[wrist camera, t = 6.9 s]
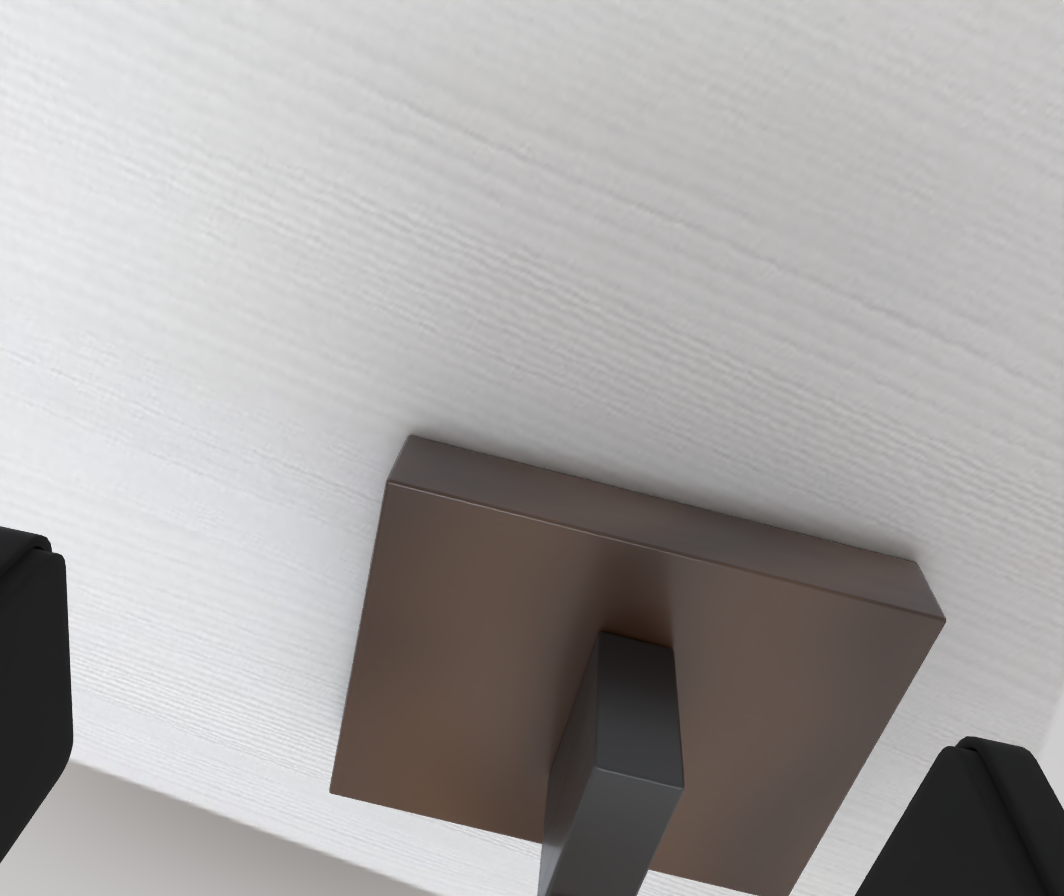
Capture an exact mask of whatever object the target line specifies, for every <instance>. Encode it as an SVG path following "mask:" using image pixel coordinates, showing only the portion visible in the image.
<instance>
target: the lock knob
mask: <svg viewBox="0 0 1064 896" xmlns="http://www.w3.org/2000/svg"><path fill="white" fill-rule="evenodd" d="M684 789H685V781H684V768H683V756H682V743H681V730H680V718H679V705H678V692H677V680H676V667H675V654H674V650H672V649H669V648H665V647H661V646H657V645H653V644H649V643H645V642H641V641H637V640H633V639H629V638H625V637H621V636H616V635H612V634H608V633H604V632H600V633H599V634H598V637H597V639H596V642H595V645H594V648H593V651H592V654H591V657H590V660H589V663H588V665H587V668H586V671H585V674H584V677H583V680H582V683H581V686H580V689H579V692H578V694H577V697H576V700H575V703H574V706H573V709H572V712H571V715H570V718H569V721H568V723H567V726H566V729H565V732H564V735H563V738H562V741H561V744H560V747H559V749H558V752H557V755H556V758H555V761H554V764H553V767H552V770H551V773H550V776H549V778H548V787H547V798H546V808H545V819H544V830H543V841H542V851H541V862H540V873H539V883H538V894H537V896H637V893H638V891H639V889H640V887H641V885H642V882H643V880H644V878H645V876H646V874H647V871H648V869H649V867H650V865H651V862H652V860H653V858H654V856H655V854H656V851H657V849H658V847H659V845H660V842H661V840H662V838H663V836H664V834H665V831H666V829H667V827H668V825H669V822H670V820H671V818H672V816H673V814H674V811H675V809H676V807H677V805H678V802H679V800H680V798H681V796H682V794H683V791H684Z"/></svg>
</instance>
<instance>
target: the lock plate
mask: <svg viewBox="0 0 1064 896" xmlns="http://www.w3.org/2000/svg"><path fill="white" fill-rule="evenodd" d="M945 623H946V618H945V616H944V614H943V612H942V610H941V608H940V606H939V604H938V602H937V600H936V598H935V596H934V594H933V592H932V590H931V588H930V586H929V585H928V583H927V581H926V579H925V577H924V575H923V573H922V571H921V569H920V567H919V565H918V564H917V563H915V562H911V561H907V560H903V559H899V558H895V557H891V556H887V555H883V554H879V553H875V552H871V551H867V550H863V549H859V548H855V547H851V546H847V545H843V544H839V543H835V542H831V541H828V540H824V539H820V538H816V537H812V536H808V535H804V534H800V533H796V532H792V531H788V530H784V529H780V528H776V527H772V526H768V525H764V524H760V523H756V522H752V521H748V520H744V519H740V518H736V517H732V516H728V515H724V514H720V513H716V512H712V511H708V510H704V509H700V508H696V507H692V506H688V505H684V504H680V503H676V502H672V501H668V500H664V499H660V498H657V497H653V496H649V495H645V494H641V493H637V492H633V491H629V490H625V489H621V488H617V487H613V486H609V485H605V484H601V483H597V482H593V481H589V480H585V479H581V478H577V477H573V476H569V475H565V474H561V473H557V472H553V471H549V470H545V469H541V468H537V467H533V466H529V465H525V464H521V463H517V462H513V461H509V460H505V459H501V458H497V457H493V456H489V455H486V454H482V453H478V452H474V451H470V450H466V449H462V448H458V447H454V446H450V445H446V444H442V443H438V442H434V441H430V440H426V439H422V438H418V437H414V436H408V437H407V438H406V440H405V442H404V444H403V447H402V449H401V451H400V453H399V455H398V457H397V459H396V461H395V463H394V465H393V467H392V469H391V472H390V474H389V476H388V478H387V480H386V483H385V489H384V494H383V500H382V505H381V511H380V516H379V521H378V527H377V532H376V538H375V543H374V549H373V554H372V560H371V565H370V570H369V576H368V581H367V587H366V592H365V598H364V603H363V609H362V614H361V619H360V625H359V630H358V636H357V641H356V647H355V652H354V658H353V663H352V668H351V674H350V679H349V685H348V690H347V696H346V701H345V707H344V712H343V717H342V723H341V728H340V734H339V739H338V745H337V750H336V756H335V761H334V766H333V772H332V777H331V783H330V788H329V791H330V793H331V794H335V795H340V796H344V797H348V798H352V799H356V800H361V801H365V802H369V803H373V804H377V805H381V806H386V807H390V808H394V809H398V810H402V811H406V812H411V813H415V814H419V815H423V816H427V817H432V818H436V819H440V820H444V821H448V822H452V823H457V824H461V825H465V826H469V827H473V828H477V829H482V830H486V831H490V832H494V833H498V834H502V835H507V836H511V837H515V838H519V839H523V840H528V841H532V842H536V843H540V844H542V841H543V830H544V819H545V808H546V798H547V787H548V778H549V776H550V773H551V770H552V767H553V764H554V761H555V758H556V755H557V752H558V749H559V747H560V744H561V741H562V738H563V735H564V732H565V729H566V726H567V723H568V721H569V718H570V715H571V712H572V709H573V706H574V703H575V700H576V697H577V694H578V692H579V689H580V686H581V683H582V680H583V677H584V674H585V671H586V668H587V665H588V663H589V660H590V657H591V654H592V651H593V648H594V645H595V642H596V639H597V637H598V634H599V633H600V632H604V633H608V634H612V635H616V636H621V637H625V638H629V639H633V640H637V641H641V642H645V643H649V644H653V645H657V646H661V647H665V648H669V649H672V650H674V654H675V667H676V680H677V692H678V705H679V718H680V730H681V743H682V756H683V768H684V781H685V789H684V791H683V794H682V796H681V798H680V800H679V802H678V805H677V807H676V809H675V811H674V814H673V816H672V818H671V820H670V822H669V825H668V827H667V829H666V831H665V834H664V836H663V838H662V840H661V842H660V845H659V847H658V849H657V851H656V854H655V856H654V858H653V860H652V862H651V865H650V867H649V870H653V871H657V872H661V873H665V874H670V875H674V876H678V877H682V878H686V879H690V880H695V881H699V882H703V883H707V884H711V885H715V886H720V887H724V888H728V889H732V890H736V891H741V892H745V893H749V894H753V895H757V896H789V894H790V892H791V891H792V889H793V887H794V885H795V884H796V882H797V880H798V878H799V877H800V875H801V873H802V871H803V870H804V868H805V866H806V864H807V863H808V861H809V859H810V857H811V856H812V854H813V852H814V851H815V849H816V847H817V845H818V844H819V842H820V840H821V838H822V837H823V835H824V833H825V831H826V830H827V828H828V826H829V824H830V823H831V821H832V819H833V817H834V816H835V814H836V812H837V811H838V809H839V807H840V805H841V804H842V802H843V800H844V798H845V797H846V795H847V793H848V791H849V790H850V788H851V786H852V784H853V783H854V781H855V779H856V778H857V776H858V774H859V772H860V771H861V769H862V767H863V765H864V764H865V762H866V760H867V758H868V757H869V755H870V753H871V751H872V750H873V748H874V746H875V744H876V743H877V741H878V739H879V738H880V736H881V734H882V732H883V731H884V729H885V727H886V725H887V724H888V722H889V720H890V718H891V717H892V715H893V713H894V711H895V710H896V708H897V706H898V704H899V703H900V701H901V699H902V698H903V696H904V694H905V692H906V691H907V689H908V687H909V685H910V684H911V682H912V680H913V678H914V677H915V675H916V673H917V671H918V670H919V668H920V666H921V664H922V663H923V661H924V659H925V658H926V656H927V654H928V652H929V651H930V649H931V647H932V645H933V644H934V642H935V640H936V638H937V637H938V635H939V633H940V631H941V630H942V628H943V626H944V624H945Z"/></svg>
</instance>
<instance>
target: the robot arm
mask: <svg viewBox="0 0 1064 896" xmlns="http://www.w3.org/2000/svg"><path fill="white" fill-rule="evenodd" d="M72 746H73V719H72V696H71V674H70V652H69V629H68V607H67V585H66V565H65V560H64V558H63V556H62V555H60V554H58V553H53V552H52V548H51V543H50V542H49V540H48V539H47V537H44V536H42V535H38V534H33V533H29V532H24V531H20V530H15V529H10V528H6V527H1V526H0V863H1V861H2V860H3V858H4V857H5V856H6V854H7V853H8V851H9V850H10V848H11V847H12V845H13V844H14V843H15V841H16V840H17V838H18V837H19V835H20V834H21V832H22V831H23V829H24V828H25V827H26V825H27V824H28V822H29V821H30V819H31V818H32V816H33V815H34V814H35V812H36V810H37V809H38V808H39V806H40V805H41V803H42V802H43V800H44V799H45V798H46V796H47V795H48V793H49V792H50V790H51V789H52V787H53V786H54V784H55V783H56V782H57V780H58V779H59V777H60V775H61V774H62V772H63V770H64V769H65V767H66V764H67V762H68V760H69V757H70V754H71V750H72ZM855 896H1064V810H1063V808H1062V806H1061V804H1060V802H1059V801H1058V799H1057V797H1056V795H1055V793H1054V791H1053V789H1052V788H1051V786H1050V784H1049V783H1048V781H1047V779H1046V777H1045V775H1044V773H1043V771H1042V769H1041V768H1040V766H1039V764H1038V762H1037V760H1036V759H1035V758H1034V756H1033V755H1032V754H1031V752H1030V751H1028V750H1026V749H1025V748H1023V747H1020V746H1015V745H1010V744H1006V743H1001V742H996V741H992V740H987V739H983V738H978V737H970V736H967V737H965V738H963V739H961V740H960V741H959V742H958V744H957V745H956V746H955V747H953V746H947V747H945V748H944V749H942V751H941V752H940V753H939V755H938V756H937V758H936V760H935V761H934V763H933V765H932V766H931V768H930V770H929V771H928V773H927V775H926V776H925V778H924V780H923V782H922V783H921V785H920V787H919V788H918V790H917V792H916V793H915V795H914V797H913V798H912V800H911V802H910V803H909V805H908V807H907V809H906V810H905V812H904V814H903V815H902V817H901V819H900V820H899V822H898V824H897V825H896V827H895V829H894V830H893V832H892V834H891V835H890V837H889V839H888V841H887V842H886V844H885V846H884V847H883V849H882V851H881V852H880V854H879V856H878V857H877V859H876V861H875V862H874V864H873V866H872V868H871V869H870V871H869V873H868V874H867V876H866V878H865V879H864V881H863V883H862V884H861V886H860V888H859V889H858V891H857V893H856V895H855Z"/></svg>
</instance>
